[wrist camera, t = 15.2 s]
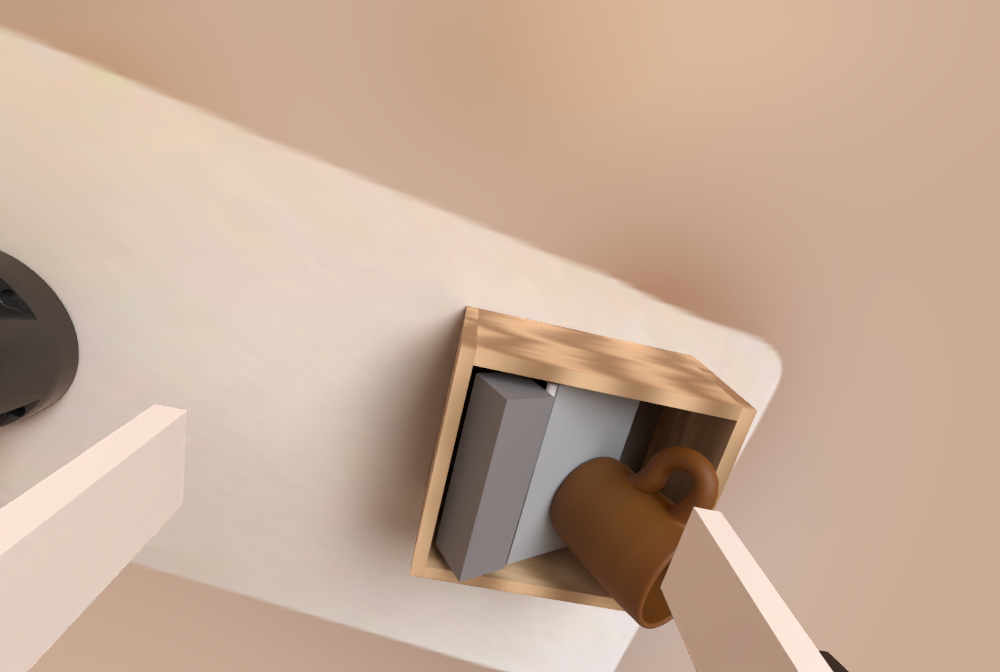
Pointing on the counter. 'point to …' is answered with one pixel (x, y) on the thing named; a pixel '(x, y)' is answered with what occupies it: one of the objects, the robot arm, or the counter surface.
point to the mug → (631, 524)
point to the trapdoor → (521, 466)
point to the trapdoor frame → (594, 366)
